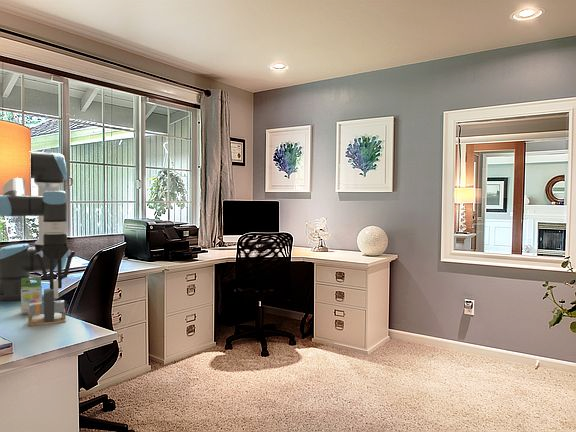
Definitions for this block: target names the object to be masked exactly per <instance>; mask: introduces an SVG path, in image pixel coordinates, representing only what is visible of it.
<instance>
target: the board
mask: <svg viewBox="0 0 576 432" xmlns="http://www.w3.org/2000/svg"><path fill="white" fill-rule="evenodd" d="M64 311H65V312H61V315H54V321H46V322H44V316H43V317H35V318H34V317H33V315H30V316H29V314H27V316H28V322H27V323H28V325H27V326H28V327H34V326H36V327H37V326H43V325H51V324H52V325H53V324H60V323H66V322H67V319H66V309H65V308H64Z"/></svg>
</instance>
